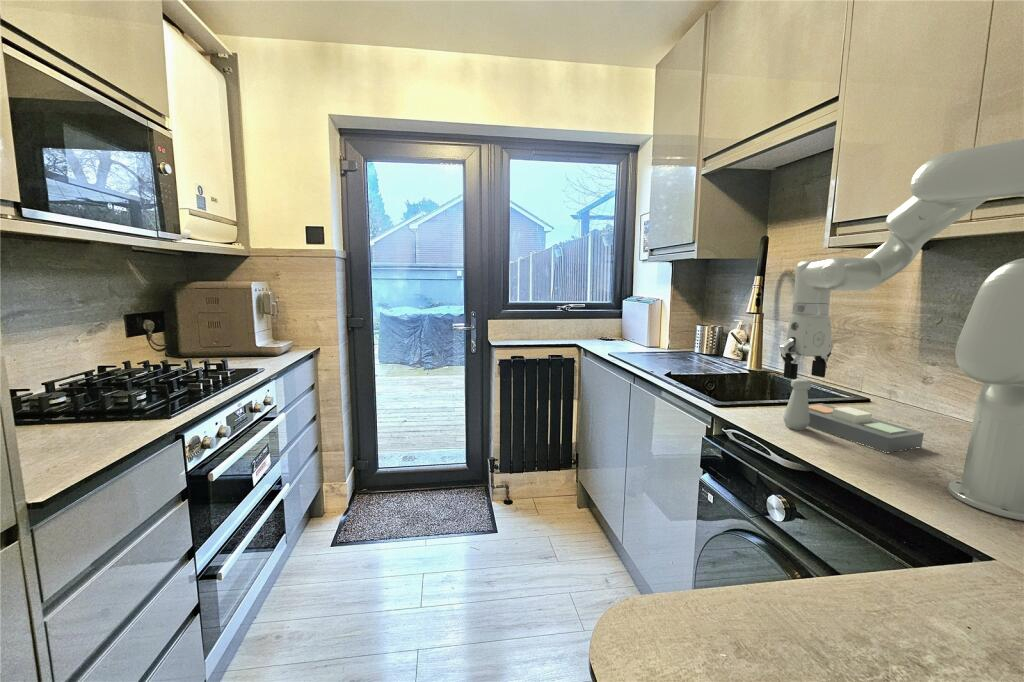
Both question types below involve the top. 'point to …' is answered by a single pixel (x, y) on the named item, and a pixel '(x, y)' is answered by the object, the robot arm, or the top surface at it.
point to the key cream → (852, 415)
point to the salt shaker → (798, 405)
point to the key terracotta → (821, 409)
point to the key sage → (885, 428)
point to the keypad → (865, 432)
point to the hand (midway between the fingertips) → (804, 377)
